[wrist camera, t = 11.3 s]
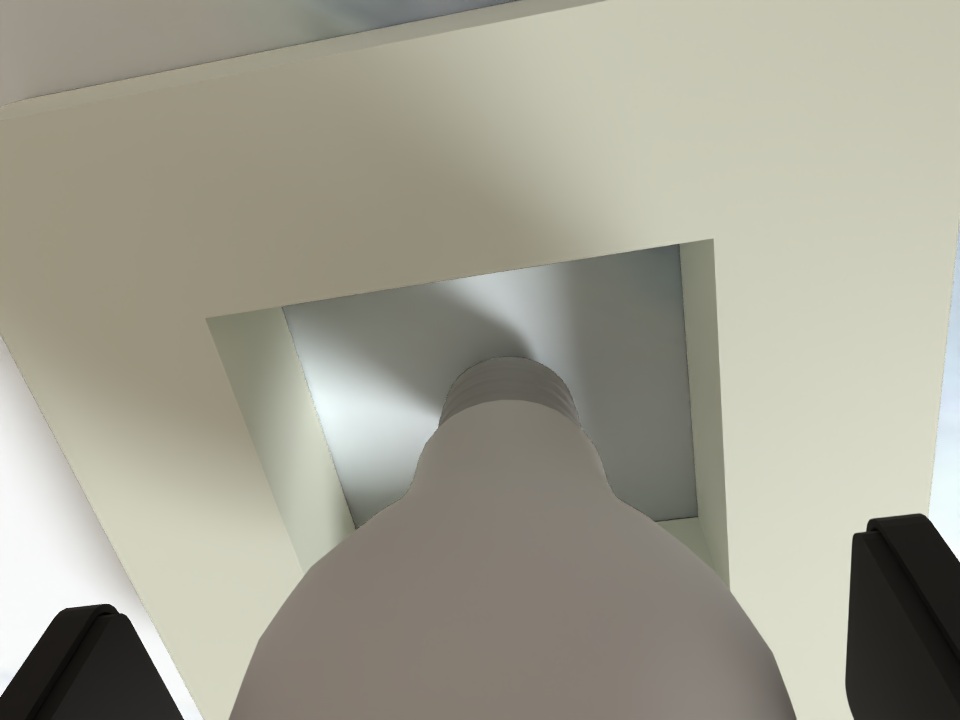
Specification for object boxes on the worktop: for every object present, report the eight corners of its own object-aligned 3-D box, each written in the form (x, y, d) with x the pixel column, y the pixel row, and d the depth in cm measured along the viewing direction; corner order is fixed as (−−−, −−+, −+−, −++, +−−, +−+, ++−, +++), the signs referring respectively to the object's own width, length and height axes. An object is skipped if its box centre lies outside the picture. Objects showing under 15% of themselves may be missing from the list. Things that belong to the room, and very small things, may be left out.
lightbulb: (538, 180, 14) (618, 774, 4) (722, 414, 16) (1069, 1175, 6) (293, 371, 16) (-63, 1082, 6) (486, 556, 18) (462, 1304, 8)
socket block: (882, -72, 12) (991, -76, 9) (849, 610, 18) (905, 725, 15) (21, 100, 13) (-102, 140, 11) (272, 666, 20) (235, 778, 17)
